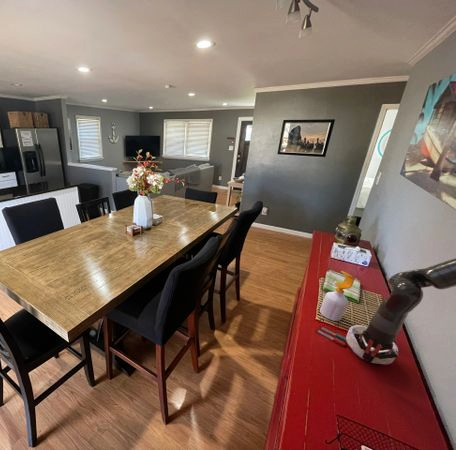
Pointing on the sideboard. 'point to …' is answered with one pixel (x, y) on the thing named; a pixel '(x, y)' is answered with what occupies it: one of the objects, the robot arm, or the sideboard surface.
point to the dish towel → (336, 277)
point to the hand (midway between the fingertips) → (366, 360)
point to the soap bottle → (336, 300)
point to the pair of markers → (332, 338)
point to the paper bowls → (355, 347)
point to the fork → (335, 334)
